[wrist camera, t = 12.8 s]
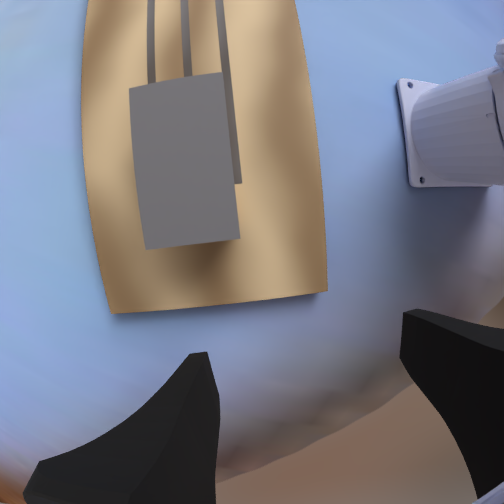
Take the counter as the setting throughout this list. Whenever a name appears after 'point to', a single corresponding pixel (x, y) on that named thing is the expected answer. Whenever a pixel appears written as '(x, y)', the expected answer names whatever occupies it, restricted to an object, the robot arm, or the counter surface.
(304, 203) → the board
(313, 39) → the counter surface
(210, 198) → the block
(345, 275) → the counter surface
